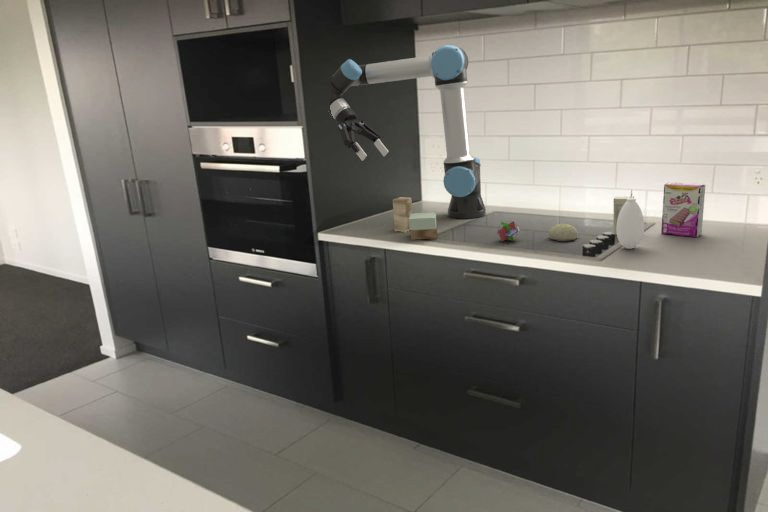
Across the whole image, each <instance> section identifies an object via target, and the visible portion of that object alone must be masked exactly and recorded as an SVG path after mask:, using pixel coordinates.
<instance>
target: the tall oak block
mask: <svg viewBox="0 0 768 512" xmlns="http://www.w3.org/2000/svg"><path fill="white" fill-rule="evenodd" d="M412 199H413V198H412V197H404V196H399V197H396V198H394V199H393V198H392V209H393V210H392V212H393V224H394V226H393V227H394V229H393V230H394V232H397V231H401V232H400V233H407V231H408V232H410V231H409V230H410V226H409V217H410V214H411V213H413V203H412V202H413V200H412Z"/></svg>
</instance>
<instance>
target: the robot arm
mask: <svg viewBox="0 0 768 512" xmlns="http://www.w3.org/2000/svg"><path fill="white" fill-rule="evenodd" d="M468 66H469V57H468V55H467V52H466V51H465V50H464V49H462V48H461V47H458V46H456V45H454V44H445V45H442V46H440V47H439V48H437V49H436V50H434V52H431V53H430V55H425V56H419V57H412V58H403V59H397V60H387V61H382V62H376V63H367V64H361V65H360V64H357V63H356V62H355V61H354V60H352V59H351V58H348V59H347V60H346V61H344V62H343V63H342V64H341V65H340V66H339V68H338V69H337V70H336V71H335V72H334V73H335V74H334V73H333V75H332V76H333V77H332V76H331V77H332V81H331V92H332V94H331V99H330V110H331V114H332V115H331V114H330V115H331V117H332V116H333V117H332V118H333V119H334V120H335V122H336V124H337V129H338V131H339V132H340V135H341V138H342V143H343V144H344V145H343V146H345V147H347V148H348V149H352V151H353V152H354V153H355V154H356V155H357V156H358V158H359V159H360V160H361V161H362V162H363V161H364V160H365V159H366V158H367V156H368V155H367V153H366V152H365V150H364V149H363V148H362V147H361V145H360V144H359V143H358V142H357V141H355V135H357V134H358V135H360V136H363V137H364V138H366V139H369V140H370V141H371V142H373V145H374V146H375V148H376V149H377V150H378V152H380V154H381V155H382V156H383V157H386V155H387V154H388V153H389V150H388V148H387V147H386V146H385V145H384V143H383V142H382V140H381V138H382V135H381V134H380V133H379V132H377V131H376V130H375V129H374V128H373V127H371V126H370V125H368V124H367V123H366V122H365V121H364V120H363V119H361V120H360V121H358V120H357V114H356V113H355V111H354V110H353V109H352V108H351V106H350V105H349V104H348V102H347V101H346V99H345V98H344V97H343V95H344V94H345V92H347V90H348V89H349V88H351V87H360V86H359V85H361V86H364V85H371V84H380V83H388V82H396V81H404V80H412V79H420V78H429V77H432V78H433V79H434V86H435V88H437V89H438V90H439V93H440V102H441V111H442V112H441V113H442V121H443V122H442V123H443V132H444V142H445V148H446V149H445V151H446V157H445V159H444V161H443V169H444V177H443V181H442V182H443V187H444V189H445V190H446V191H447V193H449V194H450V195H451V198H450V202H449V205H448V208H447V216H448V217H449V218H451V219H462V220H463V219H464V220H466V219H476V218H481V217H484V216H486V214H487V210H486V206H485V203H484V200H483V197H482V193H481V191H482V189H481V187H482V186H481V185H482V184H481V166H482V164H481V160H480V158H479V157H474V156H473V155H472V154H471V149H470V140H469V139H470V137H469V129H468V118H467V109H466V99H465V97H466V96H465V86H466V85H467V84H468V73H467V69H468V68H469V67H468ZM338 91H339V92H338Z"/></svg>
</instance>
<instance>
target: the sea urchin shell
mask: <svg viewBox="0 0 768 512" xmlns="http://www.w3.org/2000/svg"><path fill="white" fill-rule="evenodd" d="M548 237H549V238H550V239H551V240H554V241H558V242H559V241H560V242H568V241H569V242H571V241H575V240H576V239H577V237H578V230H577V228H576V227H574V226H573V225H571V224H568V223H558V224H555V225H554V226H552V227H551V228H550V229H549V231H548Z"/></svg>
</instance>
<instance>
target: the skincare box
mask: <svg viewBox="0 0 768 512" xmlns="http://www.w3.org/2000/svg"><path fill="white" fill-rule="evenodd" d="M630 197H631V196H614V197H613V235H614V236H617V232H616V225H617V219H618V216H619V213H620V211H621V209H622V207H623V205H624V204H625V203H626V202H627V198H630ZM632 198H635V196H632Z"/></svg>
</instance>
